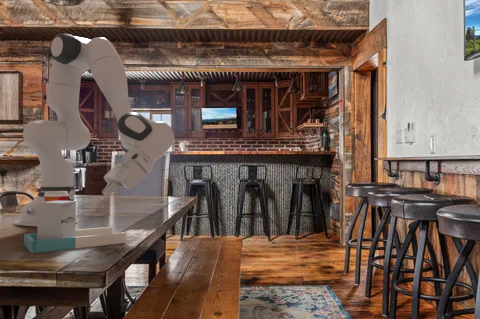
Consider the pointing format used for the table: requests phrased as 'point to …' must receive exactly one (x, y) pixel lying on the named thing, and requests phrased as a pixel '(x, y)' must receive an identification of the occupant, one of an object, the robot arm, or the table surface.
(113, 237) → the push lane
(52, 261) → the table surface
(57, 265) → the table surface
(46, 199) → the paper cup
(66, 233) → the supplement box
